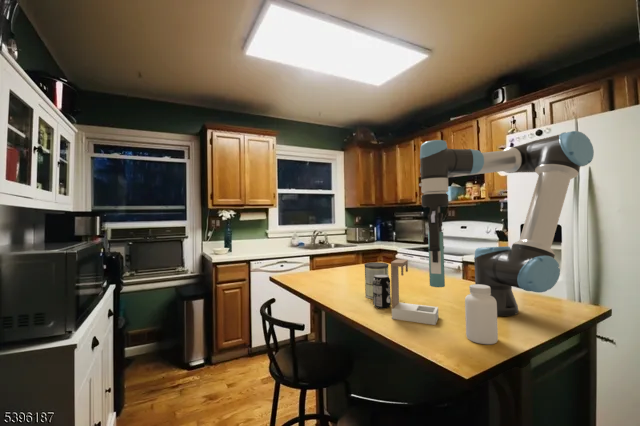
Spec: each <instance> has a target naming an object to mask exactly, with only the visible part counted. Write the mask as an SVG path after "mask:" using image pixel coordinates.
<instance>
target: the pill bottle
mask: <svg viewBox="0 0 640 426" xmlns="http://www.w3.org/2000/svg"><path fill="white" fill-rule="evenodd" d="M490 292H491V288H490V286H487V285H481V284H475V283H474V284H470V285H469V293H468V294H467V295H466V296H465V298H464V311H465V312H464V313H465V335H466V338H467V340H469V341H471V342H473V343H477V344H481V345H494V344H496V343H498V340H499V339H498V338H499V337H498V335H499V333H498V332H499V331H498V330H499V329H498V316H497V302H496V299H495V298H494V297H492V296H490V295H491V293H490Z"/></svg>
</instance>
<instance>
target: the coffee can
mask: <svg viewBox="0 0 640 426" xmlns="http://www.w3.org/2000/svg"><path fill="white" fill-rule="evenodd" d="M376 274H386V275H389V263H387V262H378V261H376V262H374V261H373V262H366V263H364V288H365V295H364V296H365V298H367V299H371V300H373V278H374V275H376Z"/></svg>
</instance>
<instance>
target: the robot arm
mask: <svg viewBox="0 0 640 426" xmlns="http://www.w3.org/2000/svg"><path fill="white" fill-rule="evenodd" d="M419 159H420V160H419V161H420V162H419V163H420V164H419V165H420V166H419V171H420V179H421V180H420V181H421V182H420V183H419V184H418V186H419V187H421V190H420V191H421V193H422V195H421V196H420V197H421V207H423V208H429V213H427V221H428V232H429V244H428V248H427V251H428V252H429V251H430V256H431V273H433V274H441V251H440V232H443V231H442V230H443V219H444V218H443V217H444V214H443V213H444V212H441V207H448V206H449V194H448V193H447V192H449V178H455V177H463V176H474V175H480V174H483V175H484V174H490V173H498V172H505V173H506V174H507V173H508V174H513V173H517V174H518V173H536V174H537V176H538V177H537V180H536V184H535V187H534V190H533V194H532V196H531V201H530V203H529V207H528V211H527V213H526V217H525V221H524V223H523V228H522V231H521V234H520V236H519V240H518V241H515V242H513V243H512V244H511V246H488V247H487V246H486V247H478V248H475V251H474V259H473V260H474V284H481V285H487V286H490V288H491V292H490V293H491V295H490V296H492V297H494V298H495V299H496V302H497V317H499V316H500V317H511V316H516V315H518V313H519V306H518V303H517V300H516V298H515V295H514V293H513V289H512V287H513V288H517V289H520V290H523V291H526V292H533V293H545V292H547V291H549V290H551V289H553V288H554V287H555V286H556V284H557V283H558V281H559V278H560V276H561V269H560V268H559V267H560V264H559V262H558V260H557V259H555V255H556V253H555V252H554V251H553V250H552V244H553V242H554V238H555V235H556V234H555V233H556V232H557V227H558V224H559V221H560V217H561V214H562V209H563V206H564V203H565V199H566V196H567V192H568V190H569V185H570V182H571V180H572V179H575V178H577V177H578V175H579V172H580V169H581V167H585V166H587V165H589V164H591V163H592V161H593V159H594V146H593V144H592V142H591V139H590V138H589V137H588V136H587V135H586V134H585V133H583V132H582V131H578V130H572V131H567V132H566V131H565V132H561V133H560V134H556V135H552V136H549V137H544V138H541V139H536V140H532V141H530V142H529V141H528V142H526V143H523V144H520V145H519V144H518V145H517V146H510V147H509V146H508V147H506V148H504V149H503V150H497V151H489V152H488V151H486V152H482V151H480V150H478V149H473V148H472V149H471V148H467V149H466V148H465V149H463V148H461V149H460V148H448V145H447V141H446V140H443V139H435V140H434V139H432V140H428V141H425V142H423V143H422V144H421V145H420V152H419ZM429 245H430V246H429Z"/></svg>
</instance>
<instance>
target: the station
mask: <svg viewBox="0 0 640 426" xmlns="http://www.w3.org/2000/svg"><path fill="white" fill-rule="evenodd" d="M408 263H409V260H408V259H402V258H401V259H399V258H398V259H395V260H393V261H391V262H390V296H391V319H392V320H398V321H405V322H411V323H412V322H413V323H420V324H426V325H432V326H433V325H434V326H436V324H437V322H438V319H439V306H431V305H425V304H415V303H409V302H408V303H407V302H406V303H405V302H400V286H399V285H400V284H399V283H400V281H399V275H400V276H402V277H403V276H404V267H405V273H408V271H409V270H408V269H409V265H408ZM399 267H400V273H401V274H400V273H399Z"/></svg>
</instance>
